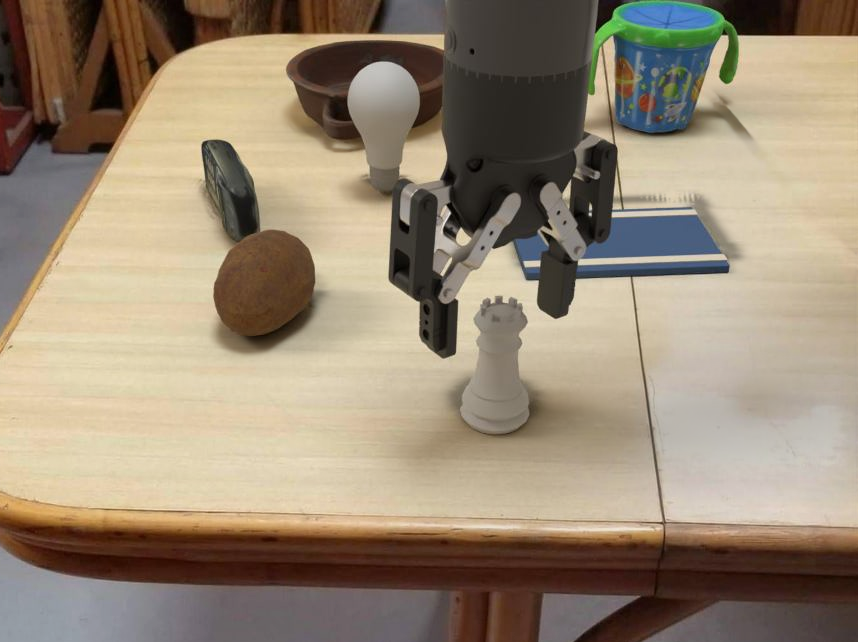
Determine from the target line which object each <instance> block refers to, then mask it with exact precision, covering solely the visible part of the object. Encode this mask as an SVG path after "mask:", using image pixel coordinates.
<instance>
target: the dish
mask: <svg viewBox="0 0 858 642" xmlns="http://www.w3.org/2000/svg"><path fill="white" fill-rule="evenodd" d="M443 60H444V49H442V48H440V47H437V46H433V45H429V44H424V43H420V42H419V43H418V42H412V41H405V40H392V39H391V40H390V39H389V40H388V39H369V40H368V39H362V40H344V41H343V40H342V41H334V42H331V43H326V44H321V45H320V44H319V45H317V46H313V47H310V48H307V49H304V50H302V51H301V52H299V53H298V54H296V55H295V56H294V57H292V58H291V59H290V60H289V61H288V63H287V65H286V66H285V73H286V76H287V77H288V78H289V80H290V81H291V82H292V83H293V86H294V88H295V92H296V94H297V95H296V96H297V99H298V101H299V103H300V106H301V108H302V110H303V111H304V113H305V114H306V116H307V117H308V118H310V120H312V121H313V122H315V123H317V124H318V125H320V126H321V127H323V130H324V131H325V134H326V136H328V137H329V138H331V139H332V140H336V141H337V140H338V141H350V140H357V139H360V138H362V137H361V135H360V133H359V131H358V129H357V128H356V126H355V124H354V122H353V120H352V118H351V116H350V113H349V109H348V92H349V88H350V85H351V83H352V81H353V79H354V78H355V76H356V75H357V74H358V73H359V71H361V70H362V69H363V68H365V67H366V66H368V65H370V64H373V63H376V62H391V63H394V64H397V65H399V66H401V67H402V68H404V69H405V70H406V71H408V73H409V74H410V75H411V76H412V78H413V79H414V81H415V83H416V85H417V87H418V90H419V96H420V106H419V111H418V115H417V117H416V119H415V121H414V123H413V125H412V127H411V129H414V128H417V127H419V126H422V125H424V124H426V123H428V122H429V121H431V120H433V119H435V118H436V116H438V114H439V113H440V112H441V111H442V96H443ZM411 129H410V130H411Z"/></svg>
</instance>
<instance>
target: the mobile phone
mask: <svg viewBox="0 0 858 642" xmlns="http://www.w3.org/2000/svg"><path fill="white" fill-rule="evenodd" d="M200 146H201V158H202V166H203V172H204V180H205V187H206V190H207V192H208V193H209V194H210V196H211V198H212V200H213V202H214V204H215V207H216V208H217V210H218V212H219V214H220V217H221V222H222V227H223V229H224V231H225V232H226V234H227V235H228V236H229V237H230V238H232V239H234V240H235V241H236V242H238V243H239V242H240V241H241V240H242V239H244V238H245V237H247V236H249V235H251V234H254V233H258V232H261V219H260V208H259V203H258V197H257V196H258V195H257V194H256V187H255V181H254V179H253V177H252V175H251V173H250V171H249V169H248V168H247V166H246V165H245V164H244V163H243V161H242V159H241V157H240V155H239V153H238V152H237V151H236V149H235V147H234V146H233V145H232V144H231V143H230V142H228V141H227V140H223V139H206V140H204V141H202V143H201V145H200Z"/></svg>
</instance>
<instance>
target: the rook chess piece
mask: <svg viewBox="0 0 858 642" xmlns="http://www.w3.org/2000/svg"><path fill="white" fill-rule="evenodd" d="M503 300H504V295H494V302H491V301H492V298H490V297H486V298H485V299H483V300H482V303H480V304H479V310H478V311H477V312H476V313H475V314H474V317H473V323H474V325H475V326H476V328H477V329H478V331H479V332H480V333H479V335H478V336H477V338H476V340H475V342H476V346H477V347H478V357H477V361H476V367H475V371H474V374H473V376H472V377H471V379H470V380H469V382H468V384H467V385H466V387H465V389H464V390H463V393H462V395H461V402H462V403H461V406H460V408H459V410H460V416H461V418H462V419H463V420H464V421H465V422H466V424H467V425H468V426H469V427H470V428H471V429H473V430H475V431H477V432H479V433H483V434H488V435H505V434H508V433H512V432H515V431H516V430H518V429H519V428H520V427H522V426H523V425H524V424H525V423H526V422H527V421H528V419H529V417H530V414H531V413H530V409H529V405H530V402H531V401H530V397H529V394H528V390H527V389H526V387H525V384H524V381H523V380H522V379H521V378H520V365H519V350H520V349H521V348H522V345H523V340H522V338H521V337H520V333H521V332H522V331H524V329H525V328H526V327H527V325H528V324H529V323H528V322H529V320H528V318H527V315H526V314H525V313H524V311H523V309H524V307H523V303H522V302H518V298H515V297H512V296H510V297H509V298H508V302H503Z"/></svg>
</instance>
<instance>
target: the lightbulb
mask: <svg viewBox="0 0 858 642" xmlns="http://www.w3.org/2000/svg"><path fill="white" fill-rule="evenodd" d="M419 106H420V96H419V90H418V87H417V85H416V83H415V81H414V79H413V78H412V76H411V75H410V74H409V73H408V71H406V70H405V69H404V68H402V67H401V66H399V65H397V64H394V63H391V62H376V63H373V64H370V65H368V66H366V67H365V68H363V69H362V70H361V71H359V73H358V74H357V75H356V76H355V78H354V79H353V81H352V83H351V85H350V88H349V92H348V109H349V113H350V116H351V118H352V120H353V122H354V124H355V126H356V128H357V129H358V131H359V133H360V135H361V137H360V138H361V140H362V142H363V145H364V150H365V156H366V157H365V158H366V164H367V165H368V166H369V167H368V168H369V181H370V186H371V187H372V188H373V189H375V190H376V191H378V192H379V193H381V194H389V193H391V192H392V191H393V187H394V185H395V183H396V182H397V181H398V180H400V169H401V167H400V166H401V164H402V163H403V154H404V149H405V148H404V147H405V143H406V141H407V138H408V134H409V132H411V127H412V125H413V123H414V121H415V119H416V117H417V115H418V111H419Z"/></svg>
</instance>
